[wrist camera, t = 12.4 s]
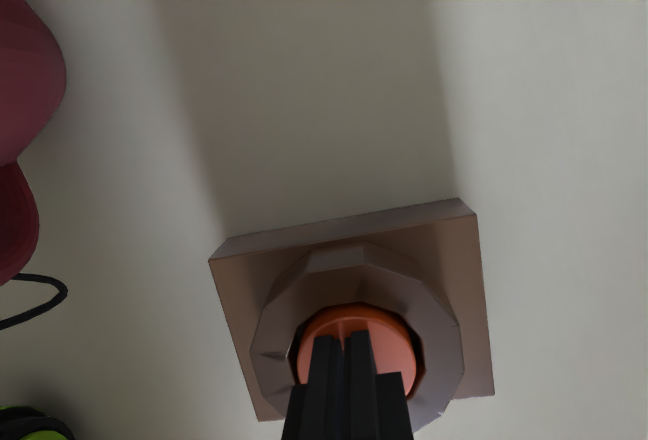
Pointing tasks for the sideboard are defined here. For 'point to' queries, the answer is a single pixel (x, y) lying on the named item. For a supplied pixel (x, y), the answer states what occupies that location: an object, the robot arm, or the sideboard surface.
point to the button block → (362, 298)
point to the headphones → (25, 421)
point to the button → (346, 318)
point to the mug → (23, 123)
